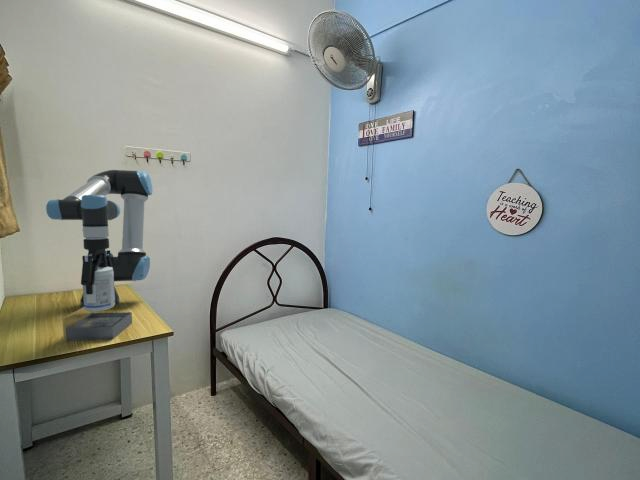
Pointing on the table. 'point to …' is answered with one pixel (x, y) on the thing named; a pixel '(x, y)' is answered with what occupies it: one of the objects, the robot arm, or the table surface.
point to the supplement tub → (102, 290)
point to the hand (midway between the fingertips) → (99, 298)
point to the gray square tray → (94, 325)
